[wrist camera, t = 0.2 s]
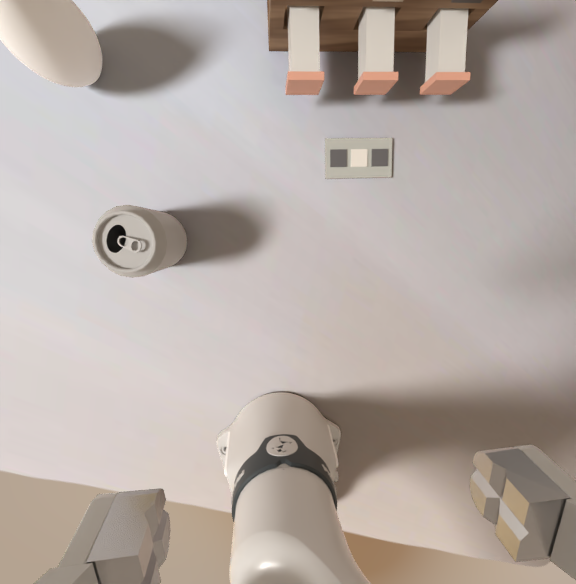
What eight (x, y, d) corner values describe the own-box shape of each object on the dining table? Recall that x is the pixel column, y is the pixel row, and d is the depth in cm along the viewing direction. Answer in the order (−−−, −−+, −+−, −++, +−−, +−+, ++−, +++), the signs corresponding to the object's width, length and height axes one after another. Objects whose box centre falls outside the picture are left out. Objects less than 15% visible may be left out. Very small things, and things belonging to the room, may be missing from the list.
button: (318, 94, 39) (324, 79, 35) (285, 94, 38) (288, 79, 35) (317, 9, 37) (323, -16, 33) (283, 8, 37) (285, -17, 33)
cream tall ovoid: (55, 101, 41) (-103, 0, 23) (47, 30, 40) (-127, -134, 22) (121, 103, 41) (15, 6, 24) (115, 33, 40) (-2, -125, 22)
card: (390, 177, 45) (391, 176, 45) (325, 178, 45) (326, 178, 44) (391, 138, 45) (392, 137, 44) (324, 139, 44) (325, 138, 43)
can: (140, 203, 44) (94, 192, 32) (195, 222, 45) (171, 219, 33) (125, 257, 45) (75, 265, 33) (179, 275, 46) (150, 289, 34)
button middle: (385, 94, 39) (398, 80, 36) (353, 94, 39) (363, 79, 35) (387, 10, 38) (400, -15, 34) (354, 9, 37) (364, -16, 34)
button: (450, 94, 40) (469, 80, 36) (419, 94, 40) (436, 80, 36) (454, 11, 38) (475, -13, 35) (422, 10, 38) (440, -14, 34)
